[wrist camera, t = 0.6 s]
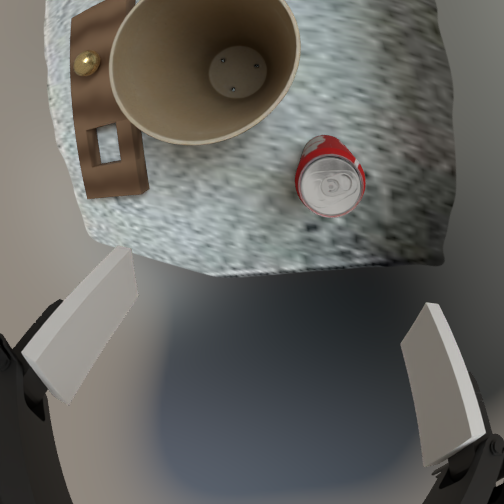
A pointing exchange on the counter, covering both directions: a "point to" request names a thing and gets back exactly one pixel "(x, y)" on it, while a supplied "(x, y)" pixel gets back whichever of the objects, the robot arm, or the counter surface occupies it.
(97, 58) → the brass ball
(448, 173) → the counter surface
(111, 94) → the board
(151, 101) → the plant pot
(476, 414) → the robot arm
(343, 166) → the beverage can
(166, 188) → the counter surface
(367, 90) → the counter surface
